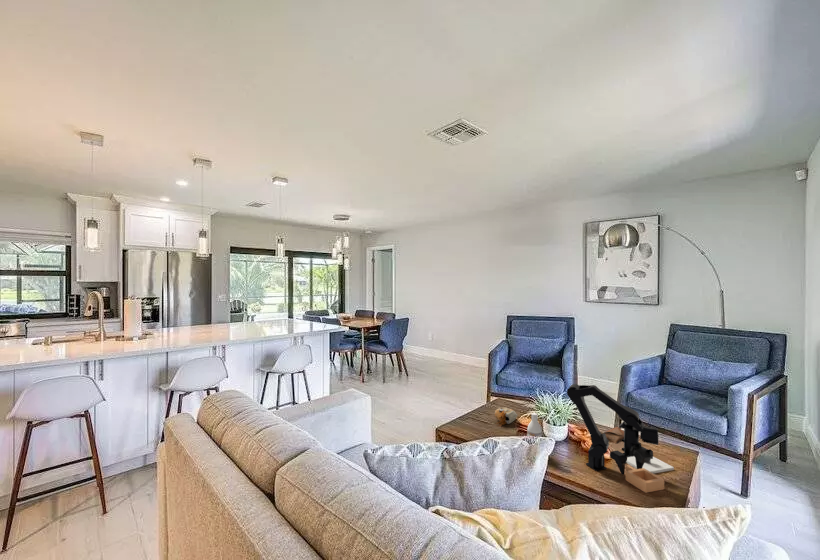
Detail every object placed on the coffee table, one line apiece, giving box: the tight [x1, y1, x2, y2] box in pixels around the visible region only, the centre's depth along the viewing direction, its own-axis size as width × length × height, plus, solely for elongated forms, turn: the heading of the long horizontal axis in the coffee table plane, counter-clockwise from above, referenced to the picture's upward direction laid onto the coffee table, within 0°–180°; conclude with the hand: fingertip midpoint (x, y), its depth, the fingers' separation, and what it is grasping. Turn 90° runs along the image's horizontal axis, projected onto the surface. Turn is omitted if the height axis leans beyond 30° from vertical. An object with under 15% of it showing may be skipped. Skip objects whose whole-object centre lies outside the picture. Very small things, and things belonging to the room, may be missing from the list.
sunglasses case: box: [601, 425, 624, 444], centre depth 210 cm, size 18×7×7 cm, turn 126°
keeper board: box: [626, 456, 675, 474], centre depth 179 cm, size 16×14×5 cm
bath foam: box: [526, 412, 543, 437], centre depth 190 cm, size 7×7×20 cm
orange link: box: [625, 464, 665, 494], centre depth 164 cm, size 10×14×4 cm
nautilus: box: [494, 406, 518, 428], centre depth 230 cm, size 8×22×15 cm
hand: (630, 473), depth 169 cm, fingers open, 9 cm apart
